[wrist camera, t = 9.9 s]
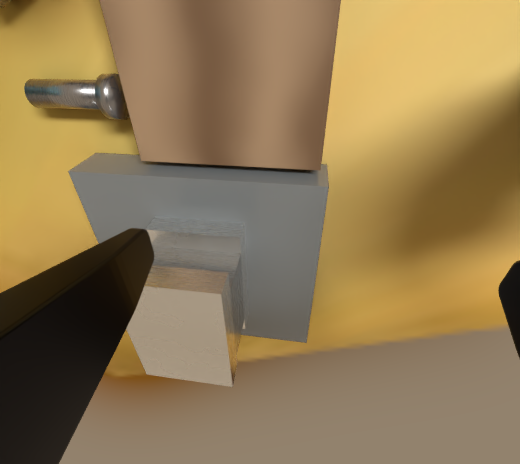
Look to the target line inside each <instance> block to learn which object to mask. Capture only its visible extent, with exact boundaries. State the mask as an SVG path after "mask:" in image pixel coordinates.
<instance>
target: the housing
mask: <svg viewBox="0 0 520 464" xmlns="http://www.w3.org/2000/svg"><path fill="white" fill-rule="evenodd" d="M145 230H147V232H148V233H149V236H150V240H151V243H152V247H153V250H154V261H153V264H152V267H151V270H150V272H149V275H148V278H147V280H146V283H145V286H144V289H143V291H142V294H141V297H140V299H139V302H138V305H137V307H136V310H135V312H134V314H133V316H132V318H131V320H130V322H129V324H128V326H127V328H126V329H127V332H128V334H129V336H130V338H131V340H132V343H133V345H134V347H135V349H136V352H137V354H138V356H139V358H140V360H141V363H142V365H143V367H144V369H145V372H146V374H148V375H155V376H161V377H168V378H175V379H181V380H189V381H195V382H202V383H209V384H216V385H223V386H230V387H233V383H234V379H235V374H236V370H237V356H236V355H237V350H238V346H239V341H240V337H241V332H242V329H245V328H246V323H247V319H248V314H249V311H248V289H247V268H246V247H245V226H244V223H234V222H221V221H209V220H196V219H183V218H170V217H158V216H155V217H154V219H153V220H152V221H151V223H150V224H149V225H148V227H147V228H146V229H145Z"/></svg>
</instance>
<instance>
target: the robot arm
mask: <svg viewBox="0 0 520 464" xmlns="http://www.w3.org/2000/svg"><path fill="white" fill-rule="evenodd" d="M153 261H154V250H153V247H152V243H151V240H150V236H149V233H148V232H147V230H145V229H139V228H130V229H128V230H126V231H124V232H122V233H120V234H118V235H116V236H114V237H112V238H110V239H108V240H106V241H104V242H102V243H100V244H98V245H96V246H94V247H92V248H90V249H88V250H86V251H84V252H82V253H80V254H78V255H76V256H74V257H72V258H70V259H68V260H66V261H64V262H62V263H60V264H58V265H56V266H54V267H52V268H50V269H48V270H46V271H44V272H42V273H40V274H38V275H36V276H34V277H32V278H30V279H28V280H26V281H24V282H22V283H20V284H18V285H16V286H14V287H12V288H10V289H8V290H6V291H4V292H2V293H0V464H59V462H60V460H61V458H62V456H63V454H64V452H65V450H66V448H67V446H68V444H69V442H70V440H71V438H72V436H73V434H74V432H75V430H76V428H77V426H78V424H79V422H80V420H81V418H82V416H83V414H84V412H85V410H86V408H87V406H88V404H89V402H90V400H91V398H92V396H93V394H94V392H95V390H96V388H97V386H98V384H99V382H100V380H101V378H102V376H103V374H104V372H105V370H106V368H107V366H108V364H109V362H110V360H111V358H112V356H113V354H114V352H115V350H116V348H117V346H118V344H119V342H120V340H121V338H122V336H123V334H124V332H125V330H126V328H127V326H128V324H129V322H130V320H131V318H132V316H133V314H134V312H135V310H136V307H137V305H138V302H139V299H140V297H141V294H142V291H143V289H144V286H145V283H146V280H147V278H148V275H149V272H150V270H151V267H152V264H153ZM498 291H499V297H500V300H501V303H502V306H503V309H504V313H505V316H506V319H507V322H508V325H509V328H510V331H511V335H512V337H513V341H514V344H515V347H516V350H517V353H518V355H519V358H520V261H517V262H515V263H514V264H513V265H512V267H511V268H510V270H509V271H508V273H507V274H506V276H505V277H504V279H503V280H502V282H501V283H500V285H499V290H498Z"/></svg>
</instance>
